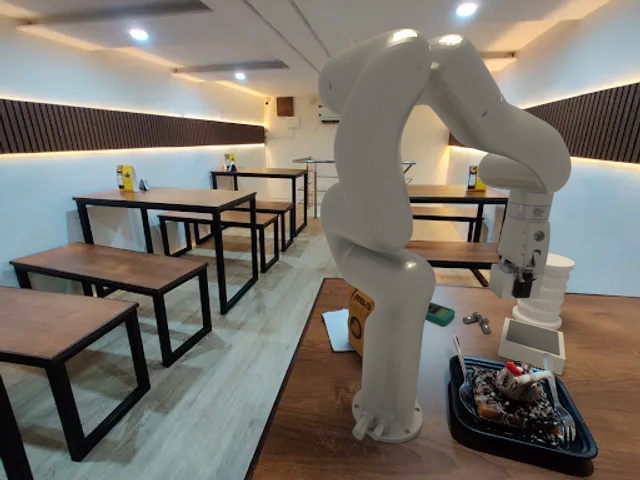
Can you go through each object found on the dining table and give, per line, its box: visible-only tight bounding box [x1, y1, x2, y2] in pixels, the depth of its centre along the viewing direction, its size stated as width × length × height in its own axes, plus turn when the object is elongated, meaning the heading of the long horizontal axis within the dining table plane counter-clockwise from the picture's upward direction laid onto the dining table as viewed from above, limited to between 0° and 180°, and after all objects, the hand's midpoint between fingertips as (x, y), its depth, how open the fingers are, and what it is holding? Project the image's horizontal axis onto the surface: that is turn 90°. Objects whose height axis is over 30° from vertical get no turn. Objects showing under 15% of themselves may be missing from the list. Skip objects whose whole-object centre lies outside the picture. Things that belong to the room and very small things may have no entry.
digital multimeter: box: [425, 301, 456, 327], centre depth 92 cm, size 7×15×3 cm, turn 47°
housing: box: [487, 262, 543, 300], centre depth 69 cm, size 8×6×7 cm
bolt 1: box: [462, 311, 482, 324], centre depth 87 cm, size 5×2×2 cm, turn 111°
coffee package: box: [346, 284, 375, 359], centre depth 72 cm, size 10×12×22 cm
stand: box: [497, 317, 567, 376], centre depth 75 cm, size 12×12×4 cm
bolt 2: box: [478, 315, 492, 335], centre depth 84 cm, size 5×2×2 cm, turn 166°
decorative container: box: [511, 252, 576, 331], centre depth 86 cm, size 12×12×18 cm
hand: (512, 290), depth 70 cm, fingers closed on housing, 5 cm apart
